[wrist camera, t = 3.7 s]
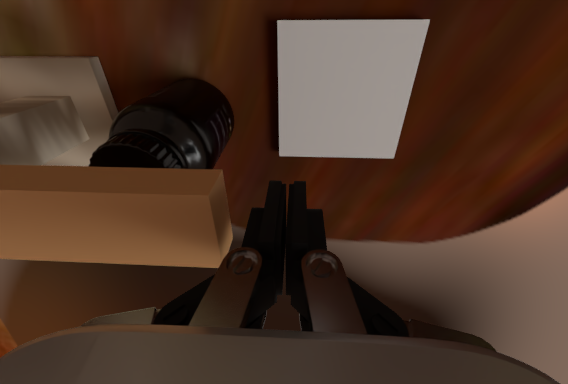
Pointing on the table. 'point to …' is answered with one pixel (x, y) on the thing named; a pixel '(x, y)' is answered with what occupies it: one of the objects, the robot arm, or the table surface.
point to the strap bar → (114, 215)
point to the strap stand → (53, 110)
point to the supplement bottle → (170, 129)
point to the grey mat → (345, 85)
